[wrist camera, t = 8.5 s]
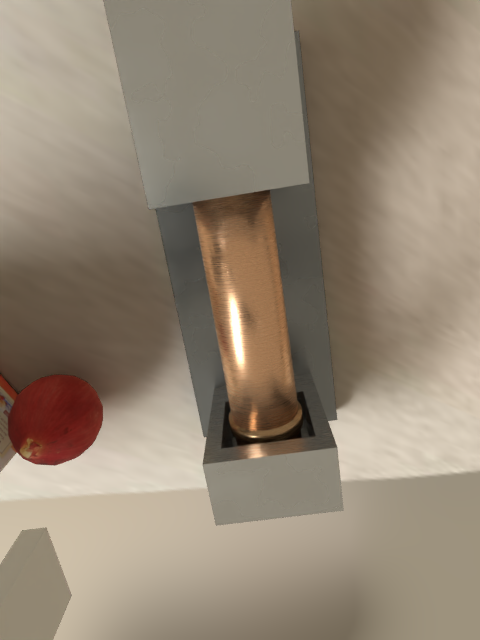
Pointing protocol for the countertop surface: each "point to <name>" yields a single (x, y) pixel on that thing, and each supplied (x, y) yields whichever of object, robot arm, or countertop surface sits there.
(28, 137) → the countertop surface
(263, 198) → the copper tube
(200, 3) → the jig
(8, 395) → the cracker box
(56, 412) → the red round fruit
